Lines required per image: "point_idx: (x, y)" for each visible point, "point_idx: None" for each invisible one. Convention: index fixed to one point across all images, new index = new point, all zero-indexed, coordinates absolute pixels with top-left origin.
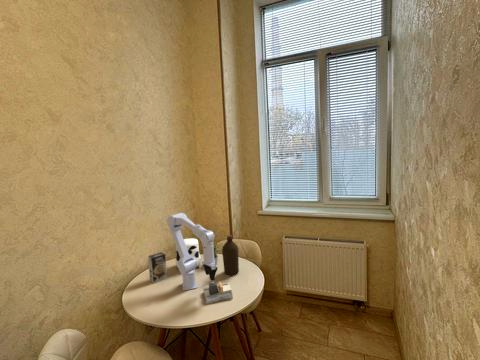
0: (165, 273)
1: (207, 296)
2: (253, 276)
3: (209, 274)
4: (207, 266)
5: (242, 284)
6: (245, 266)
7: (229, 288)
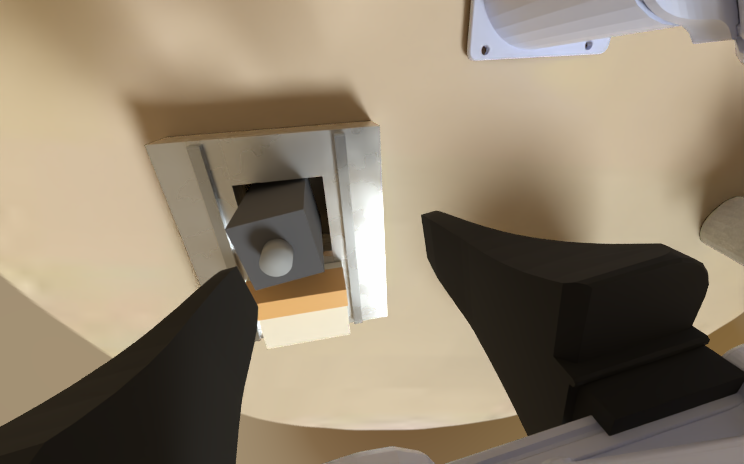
0: None
1: (192, 160)
2: (448, 408)
3: (118, 354)
4: (494, 321)
5: (388, 366)
6: None
7: (287, 336)
